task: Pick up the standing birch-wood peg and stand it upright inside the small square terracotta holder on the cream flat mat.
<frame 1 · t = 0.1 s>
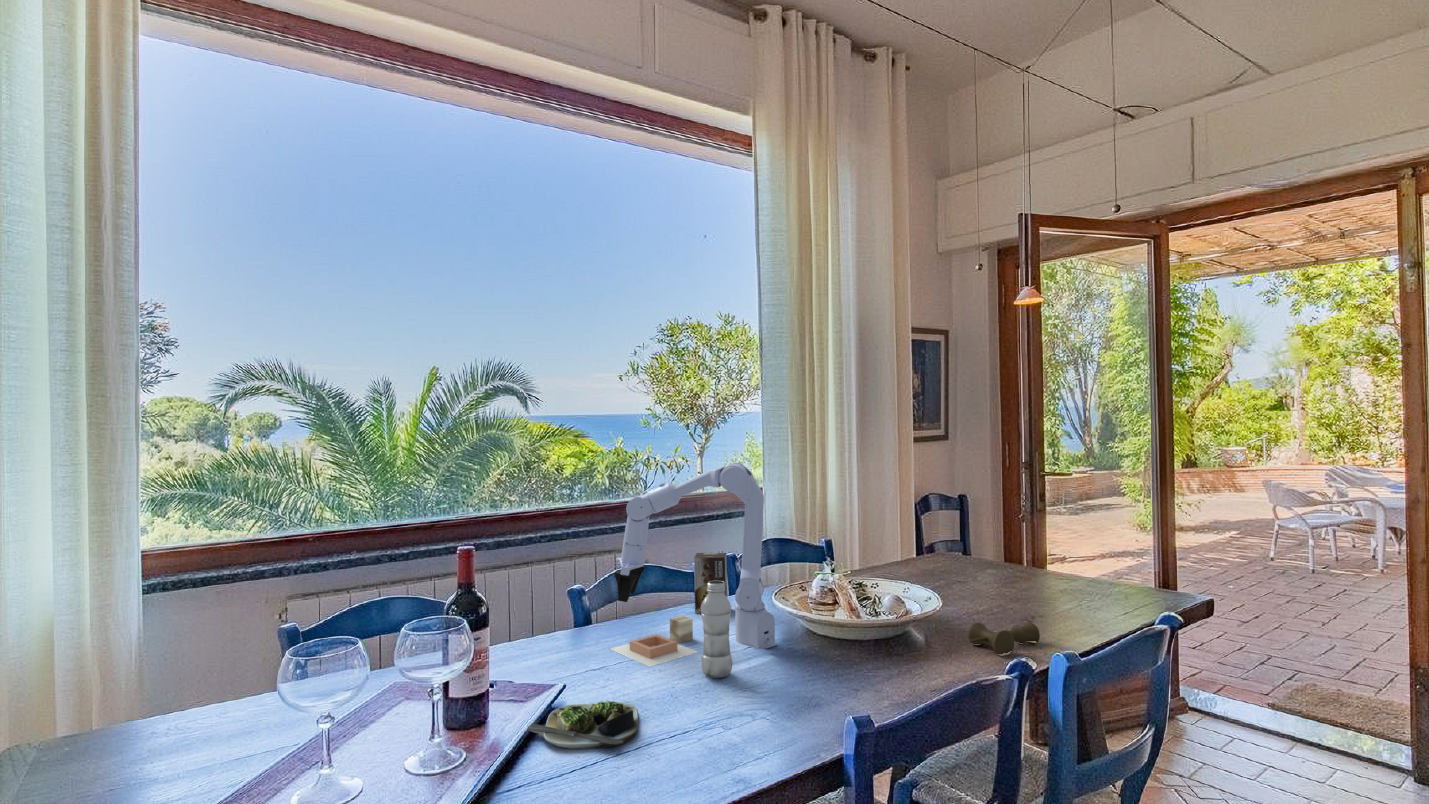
hand: (626, 596, 175), 11 cm above the table, tool pointing down, fingers open, 7 cm apart
olive double spool shape: (1002, 649, 166), on the table
terracotta holder: (653, 650, 163), resting on cream flat mat
plastic bottle: (716, 676, 149), on the table
cream flat mat: (653, 654, 163), on the table
salad plate: (594, 732, 124), on the table
birch peg: (681, 643, 171), on the table
coffee box: (711, 611, 199), on the table
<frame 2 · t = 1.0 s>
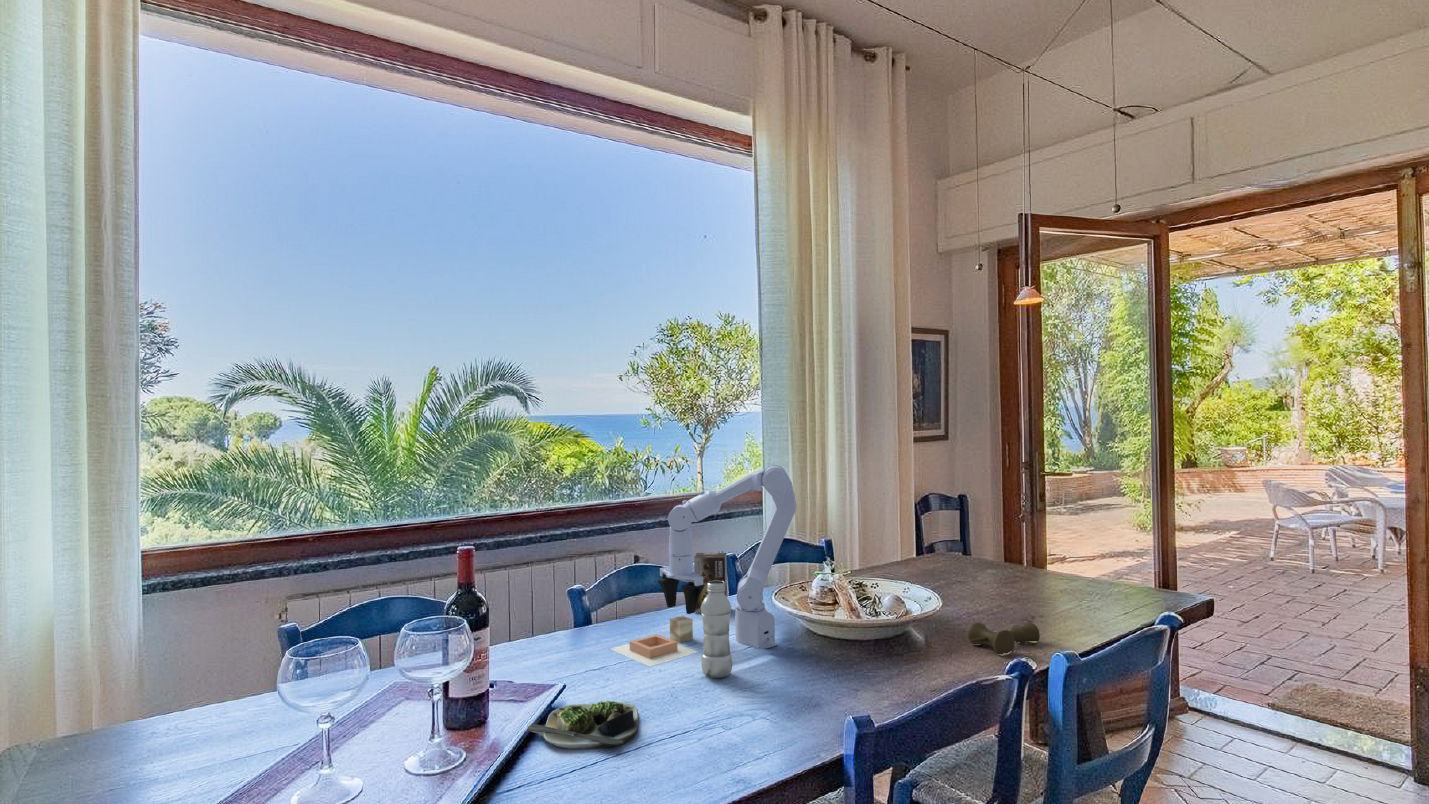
hand: (680, 609, 171), 8 cm above the table, tool pointing down, fingers open, 7 cm apart
nothing on the table moved.
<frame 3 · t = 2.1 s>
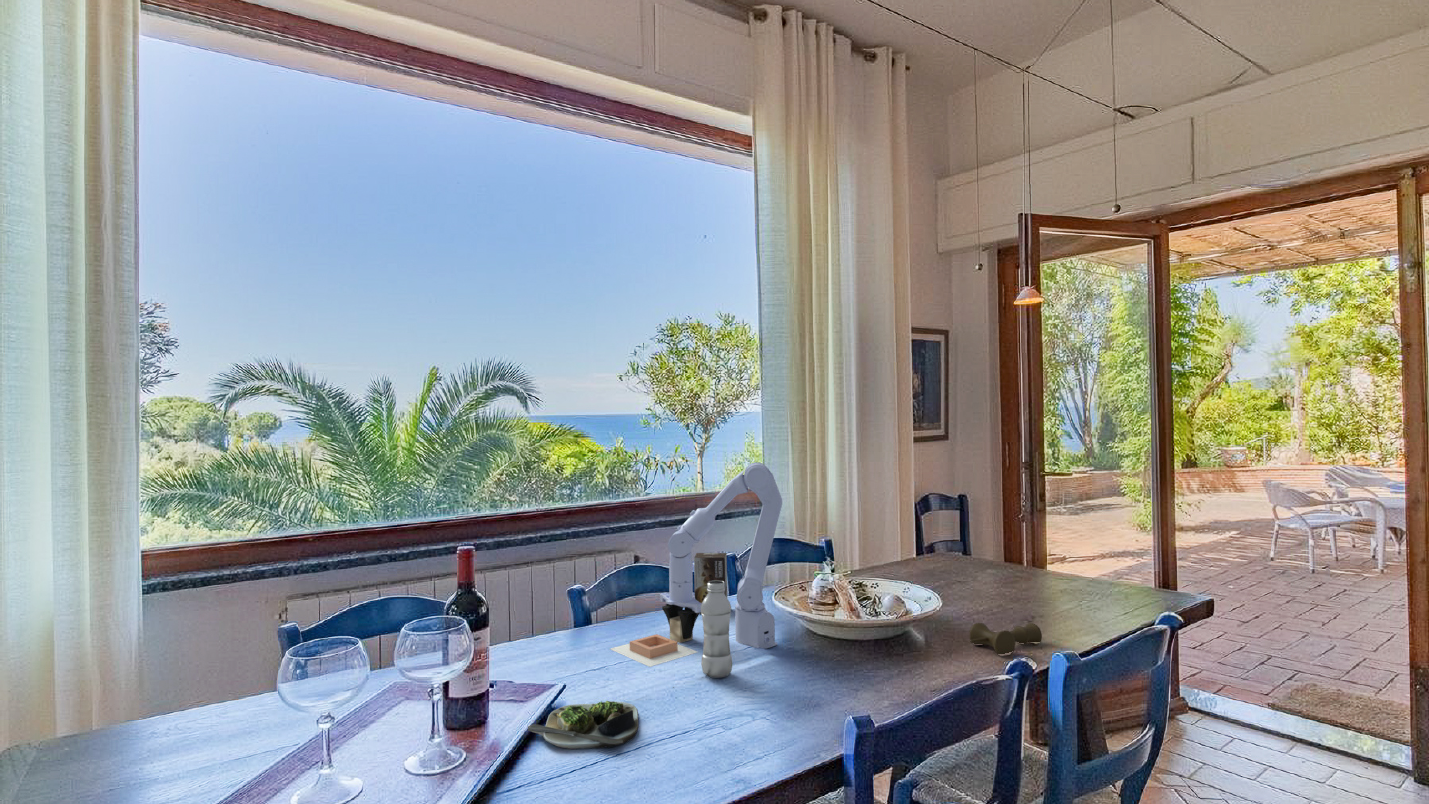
hand: (681, 636, 171), 2 cm above the table, tool pointing down, fingers closed on birch peg, 4 cm apart
birch peg: (681, 643, 171), on the table, touching gripper
everything else where it was.
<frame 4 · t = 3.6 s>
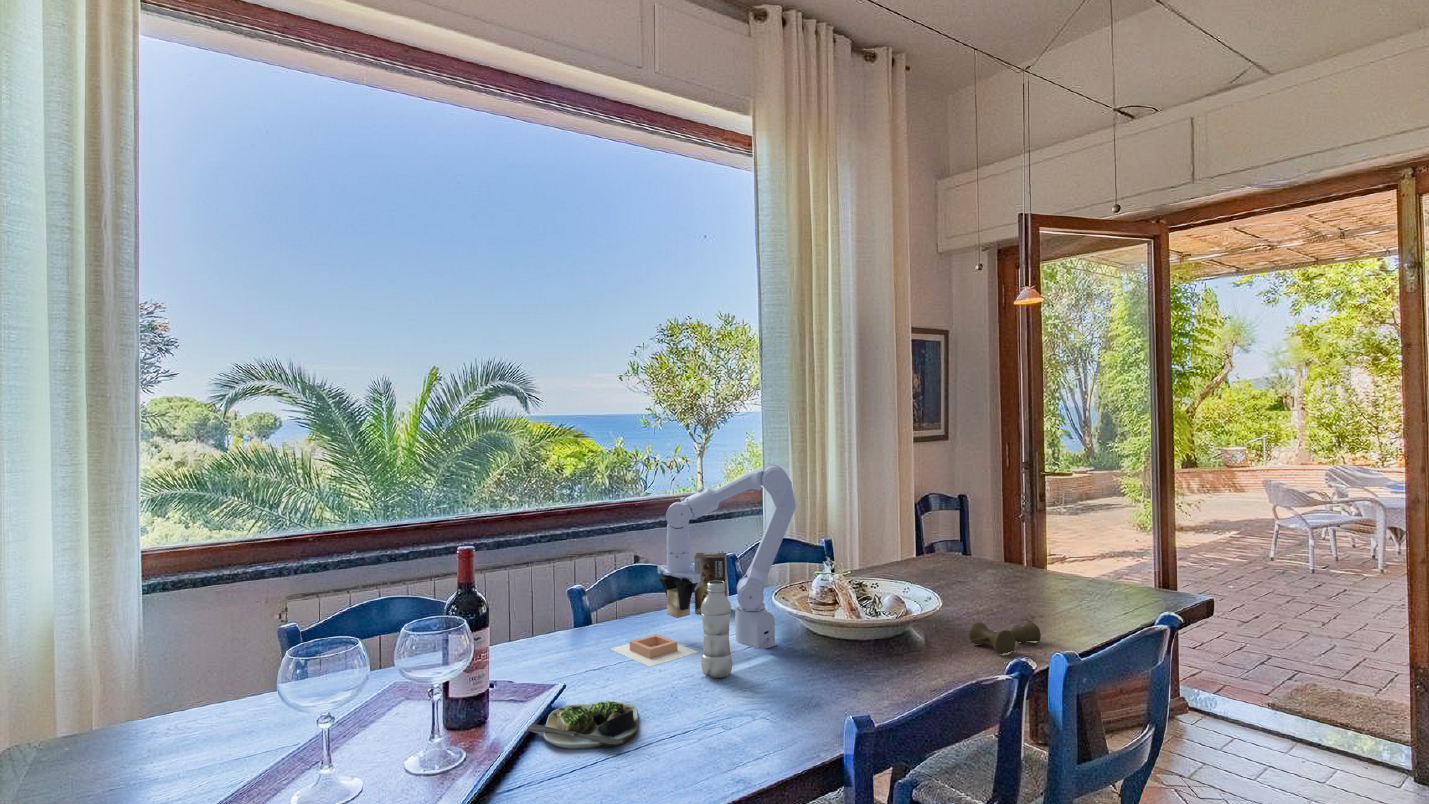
hand: (678, 607, 170), 9 cm above the table, tool pointing down, fingers closed on birch peg, 4 cm apart
birch peg: (678, 614, 170), point 7 cm above the table, touching gripper
everything else where it was.
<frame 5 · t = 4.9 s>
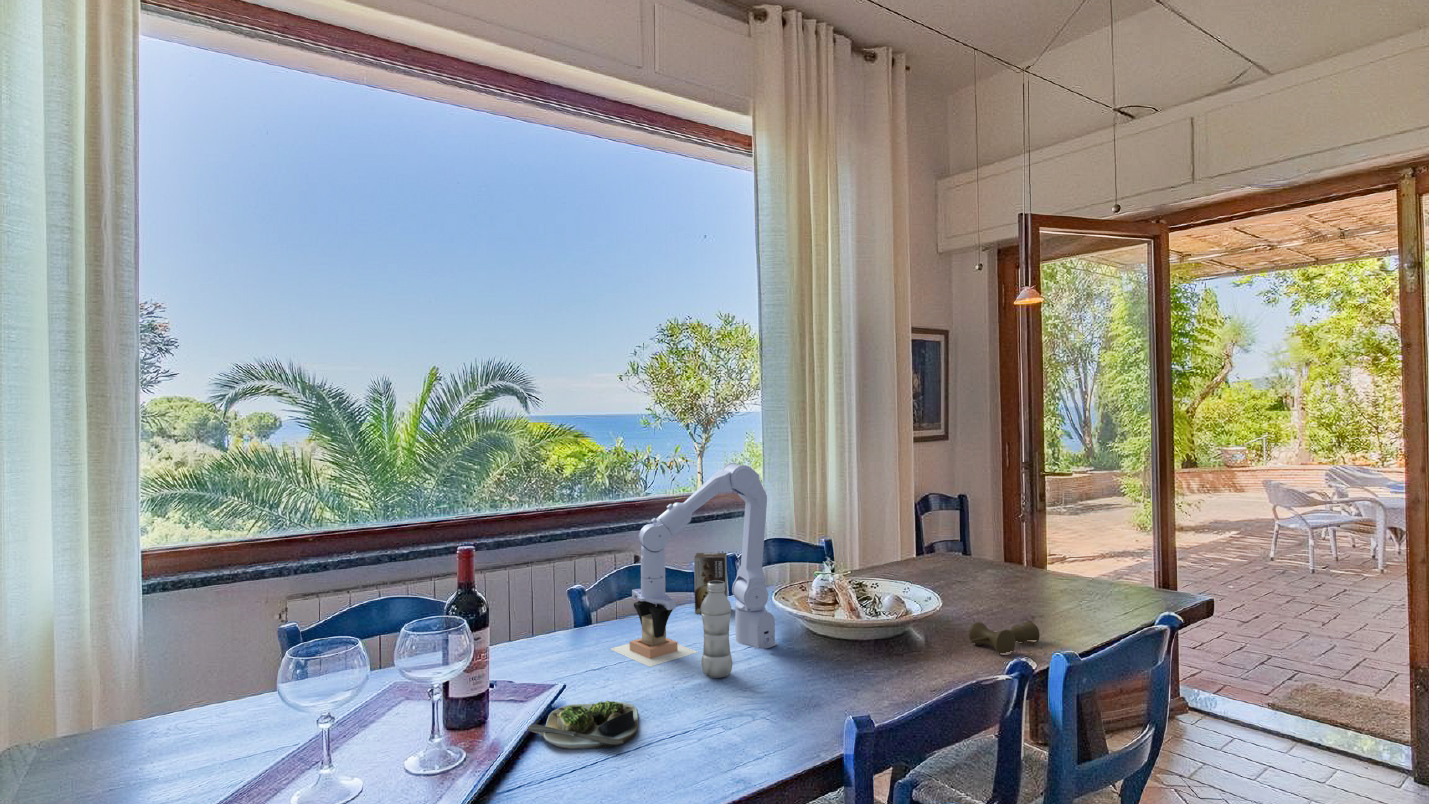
hand: (653, 634, 163), 5 cm above the table, tool pointing down, fingers closed on birch peg, 4 cm apart
birch peg: (653, 642, 163), point 3 cm above the table, touching gripper
everything else where it was.
when the fingers open (4 cm above the table, at t = 5.4 s): birch peg drops 1 cm, resting on cream flat mat.
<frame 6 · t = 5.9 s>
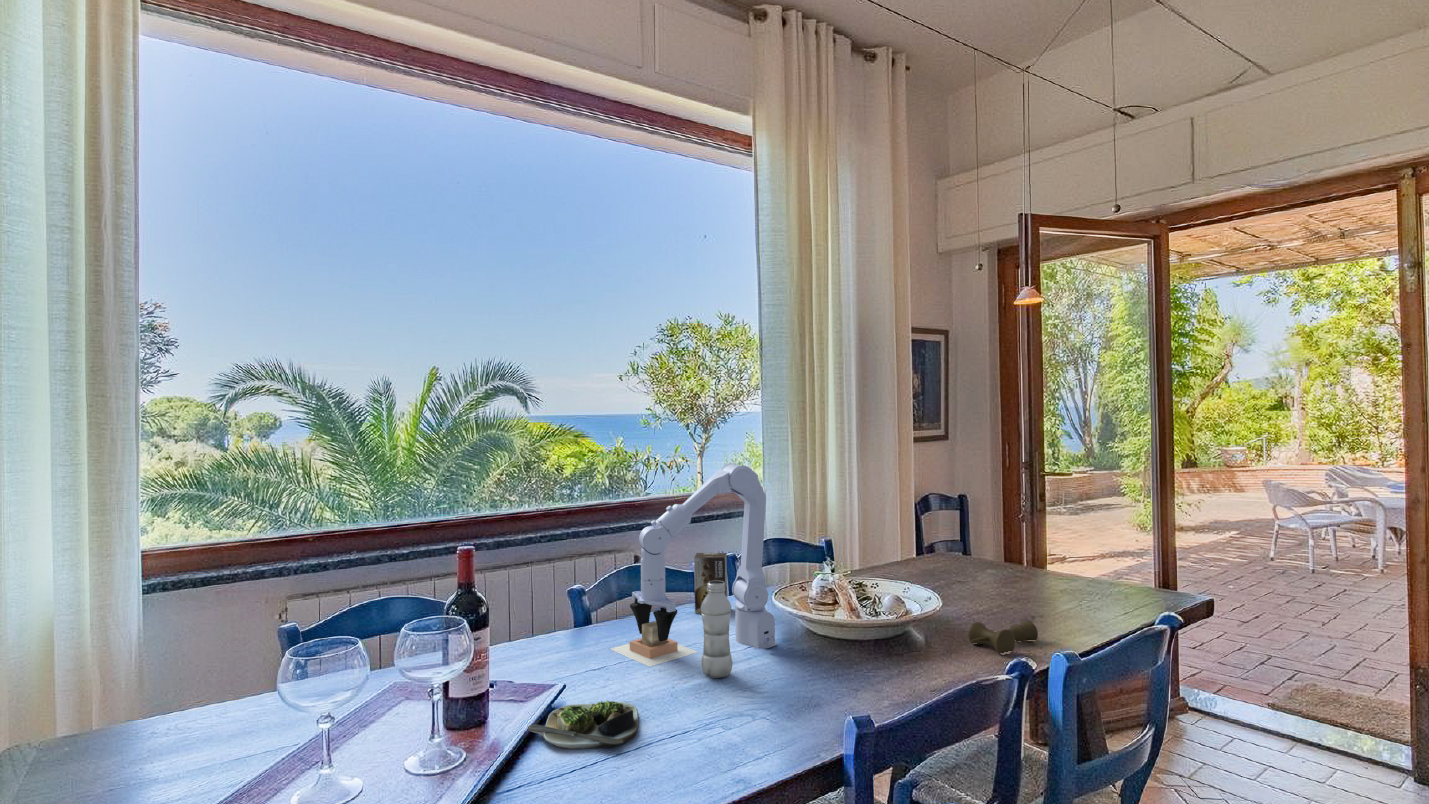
hand: (653, 636, 163), 4 cm above the table, tool pointing down, fingers open, 7 cm apart
birch peg: (654, 650, 163), point 1 cm above the table, touching cream flat mat
everything else where it was.
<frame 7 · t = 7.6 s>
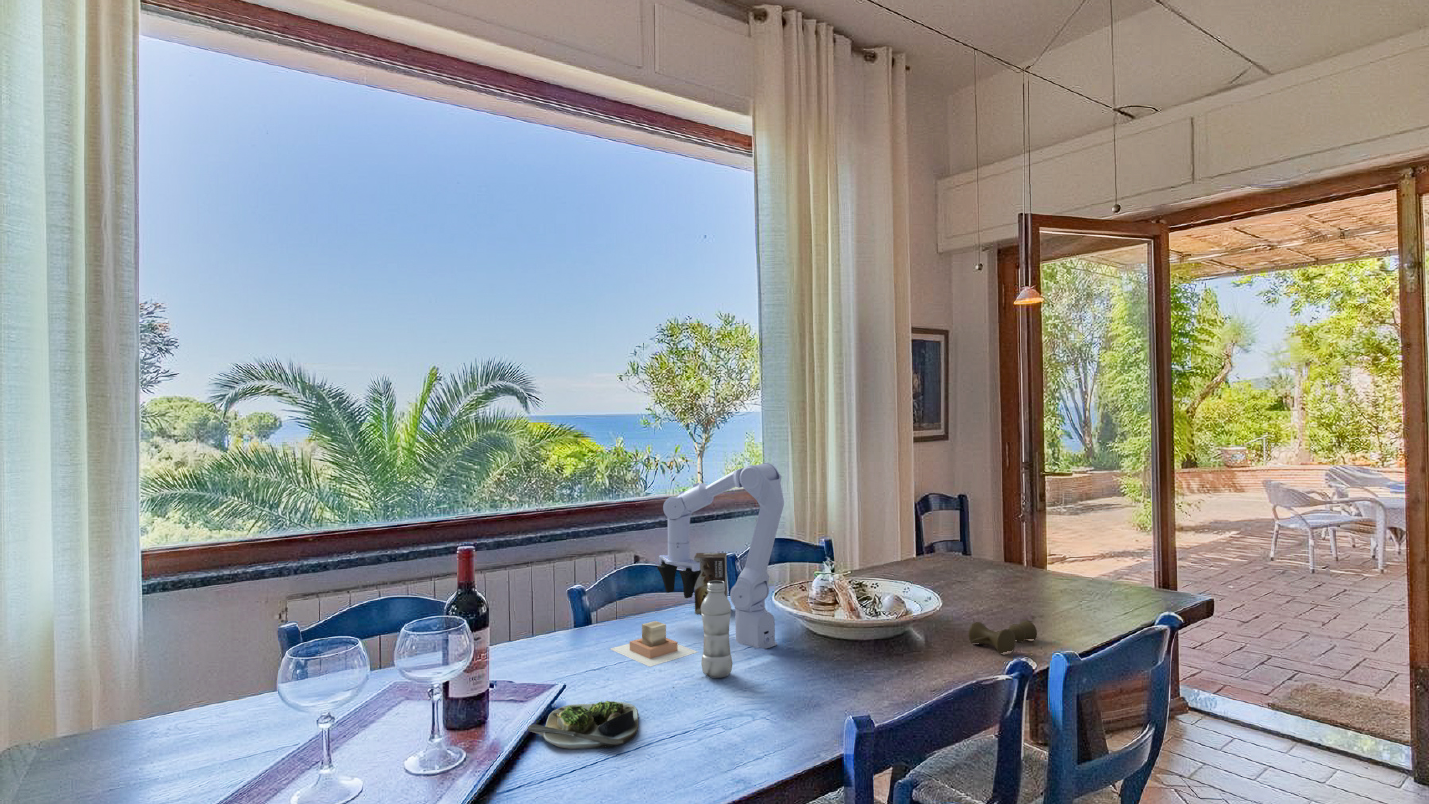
hand: (679, 594, 181), 9 cm above the table, tool pointing down, fingers open, 7 cm apart
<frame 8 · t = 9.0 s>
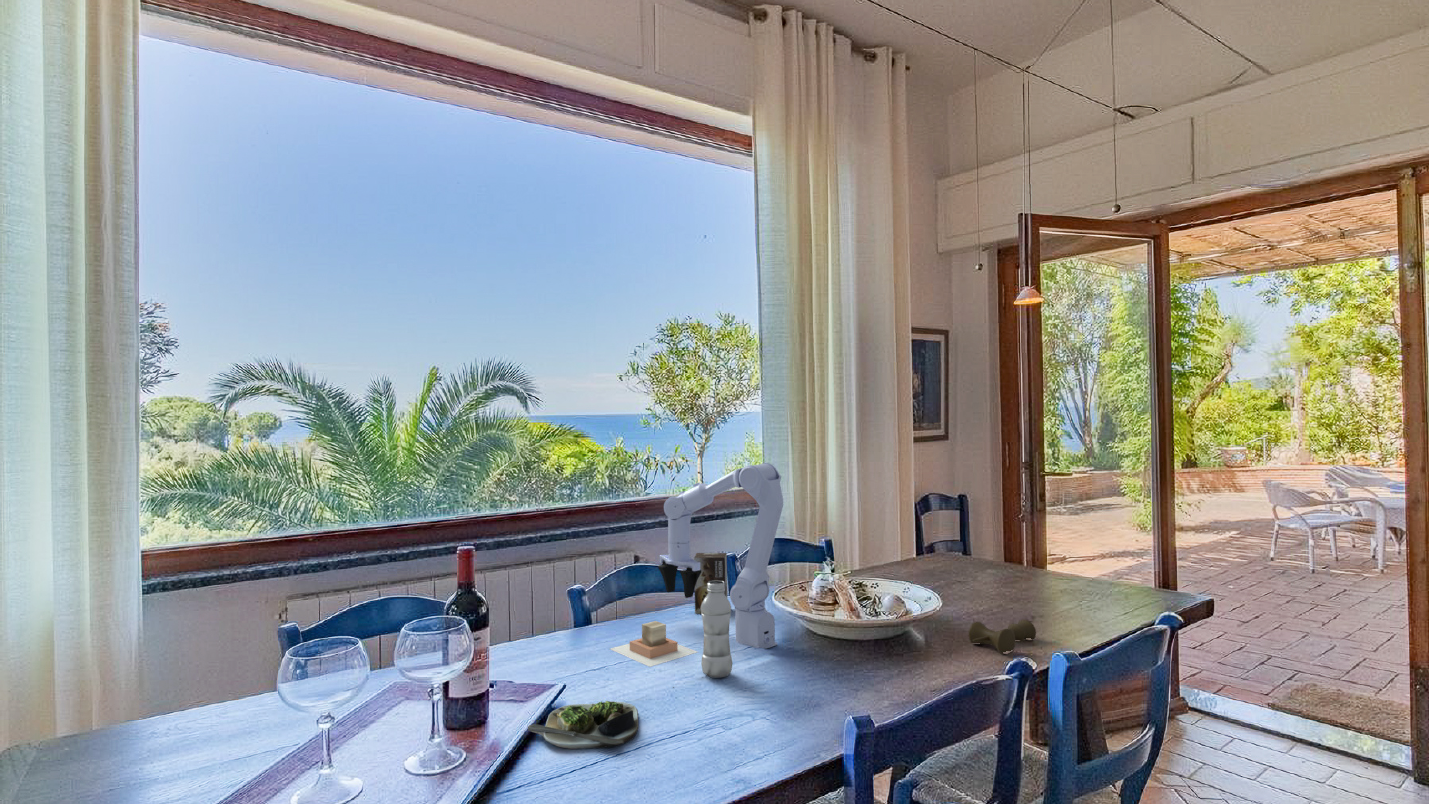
hand: (679, 594, 181), 9 cm above the table, tool pointing down, fingers open, 7 cm apart
at the end: birch peg 0.2 cm off-centre on the terracotta holder, point 0.0 cm above the terracotta holder's base; birch peg tilted 0°; the gripper is holding nothing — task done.
